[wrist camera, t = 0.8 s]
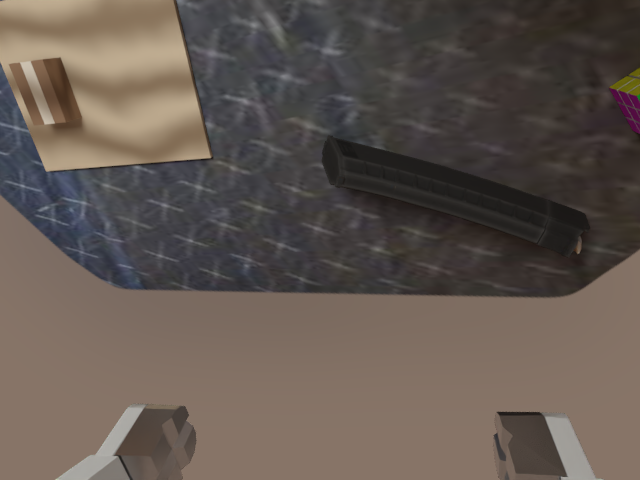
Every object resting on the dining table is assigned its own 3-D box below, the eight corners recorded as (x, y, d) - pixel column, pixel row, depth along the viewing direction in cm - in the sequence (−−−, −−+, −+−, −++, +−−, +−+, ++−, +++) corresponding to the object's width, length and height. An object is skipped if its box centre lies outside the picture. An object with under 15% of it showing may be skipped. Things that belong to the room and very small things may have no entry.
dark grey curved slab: (288, 175, 44) (588, 302, 36) (294, 145, 43) (610, 271, 35) (347, 147, 59) (571, 233, 51) (354, 124, 57) (586, 209, 49)
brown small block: (28, 61, 51) (8, 64, 49) (60, 57, 50) (42, 59, 48) (51, 120, 54) (33, 125, 52) (82, 117, 54) (66, 122, 51)
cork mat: (-20, 5, 50) (-24, 5, 49) (169, -27, 45) (166, -27, 45) (49, 170, 58) (46, 171, 58) (212, 156, 54) (210, 157, 54)
